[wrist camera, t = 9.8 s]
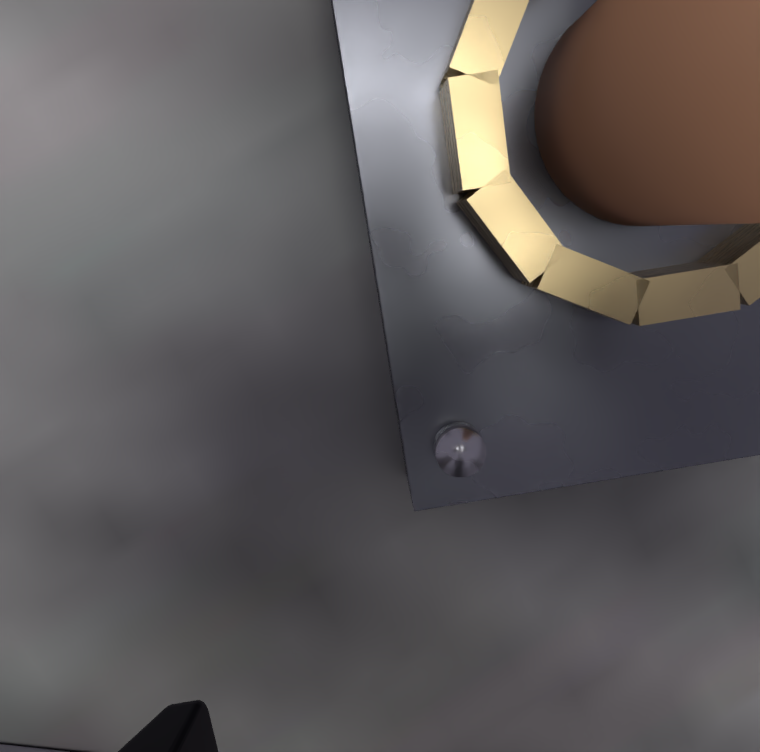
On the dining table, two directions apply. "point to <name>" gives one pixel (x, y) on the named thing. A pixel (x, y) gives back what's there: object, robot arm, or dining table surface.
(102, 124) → the dining table surface
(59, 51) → the dining table surface
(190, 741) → the robot arm
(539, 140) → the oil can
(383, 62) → the gearbox housing
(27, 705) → the dining table surface
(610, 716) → the dining table surface
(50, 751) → the coffee box
